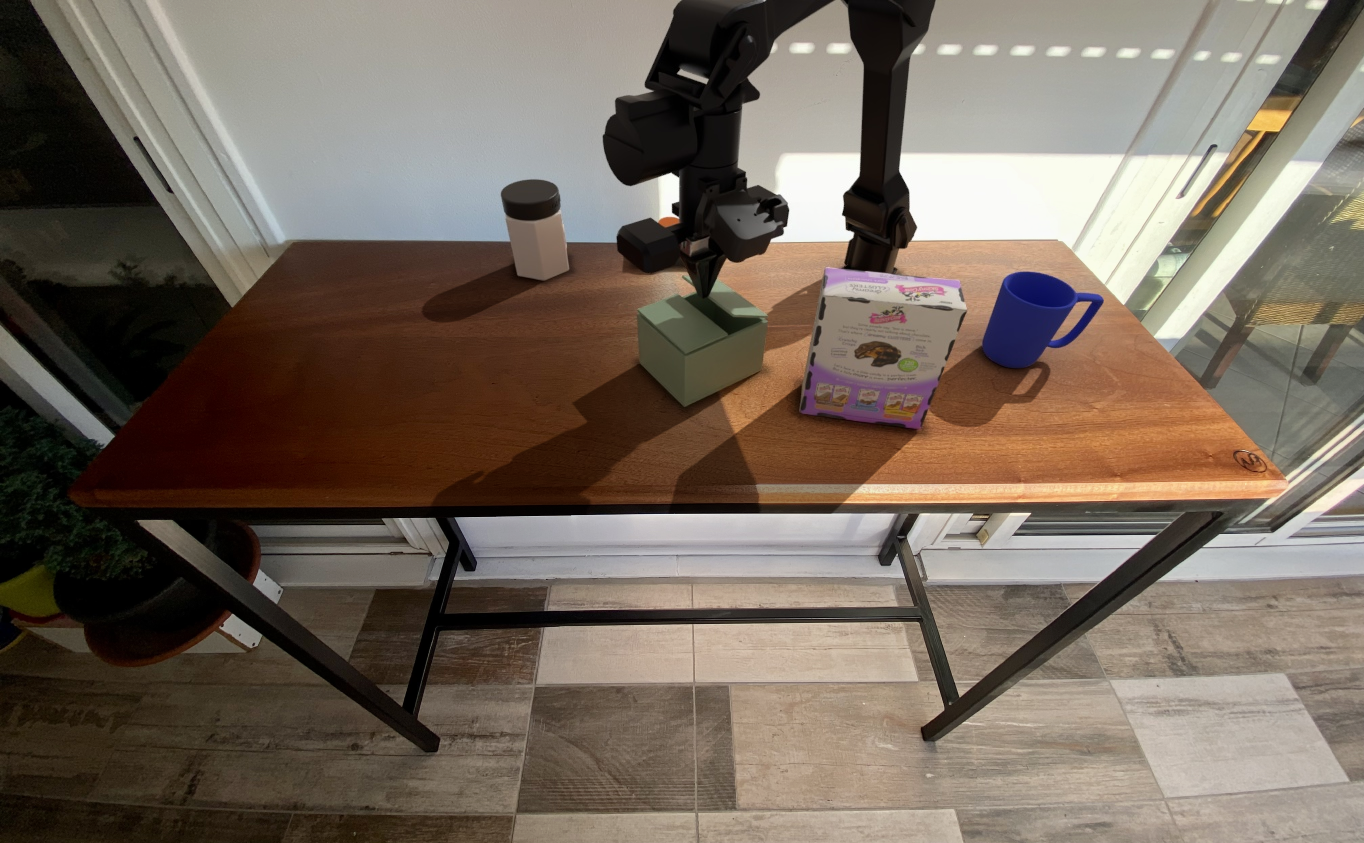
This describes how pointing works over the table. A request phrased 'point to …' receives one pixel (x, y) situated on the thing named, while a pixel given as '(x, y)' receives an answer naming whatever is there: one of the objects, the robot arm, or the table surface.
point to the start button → (668, 221)
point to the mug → (1032, 318)
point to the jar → (535, 228)
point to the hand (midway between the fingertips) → (703, 296)
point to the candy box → (880, 346)
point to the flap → (731, 301)
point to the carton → (698, 346)
